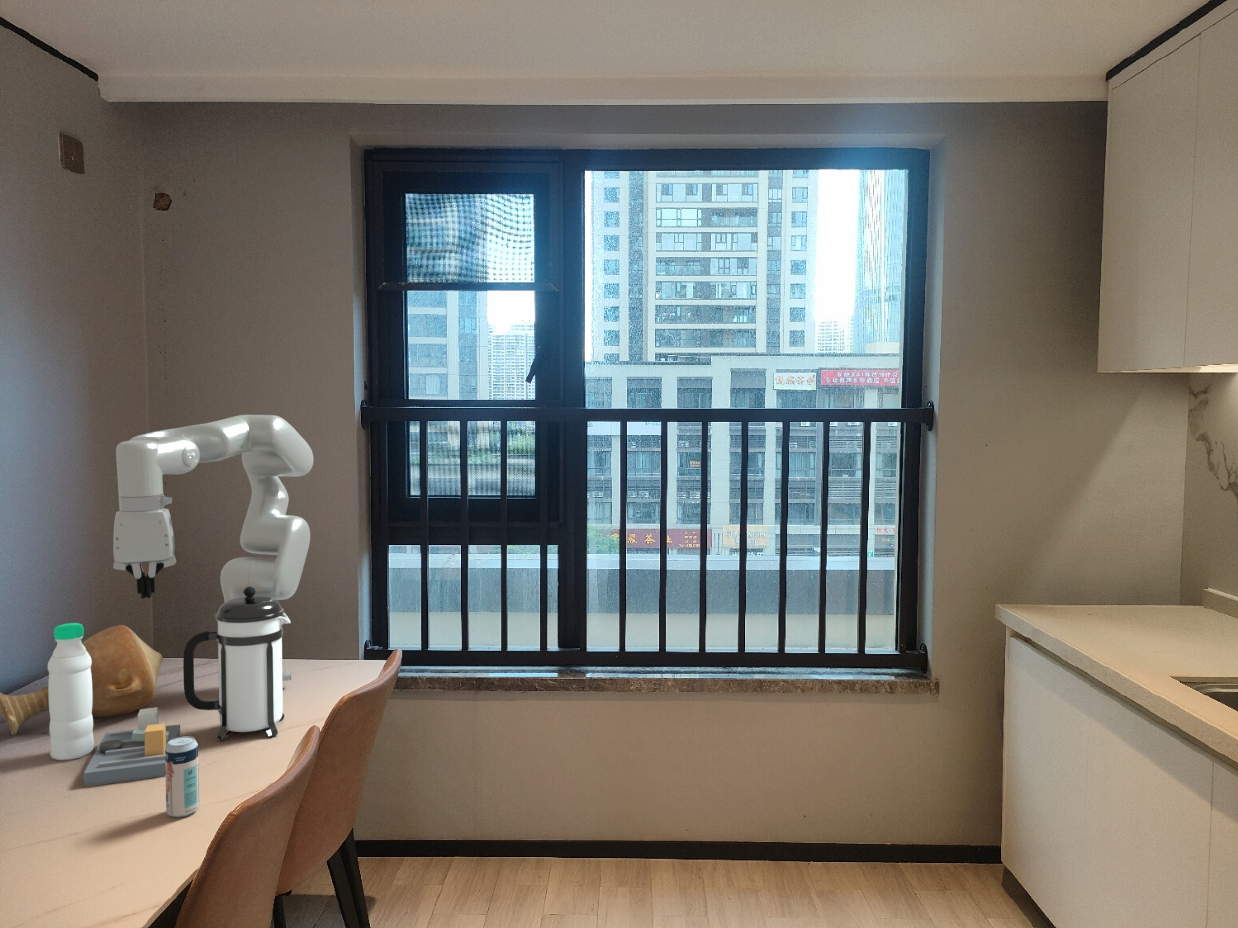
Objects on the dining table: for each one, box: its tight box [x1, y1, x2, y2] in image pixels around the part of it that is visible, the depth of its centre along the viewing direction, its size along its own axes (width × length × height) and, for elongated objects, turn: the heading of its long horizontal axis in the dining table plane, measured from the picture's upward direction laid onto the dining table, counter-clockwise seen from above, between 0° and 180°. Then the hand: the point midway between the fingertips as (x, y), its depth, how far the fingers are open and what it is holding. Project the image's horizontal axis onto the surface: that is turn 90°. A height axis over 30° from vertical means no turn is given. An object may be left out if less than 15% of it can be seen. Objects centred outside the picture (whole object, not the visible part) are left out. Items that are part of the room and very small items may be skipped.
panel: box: [83, 724, 181, 787], centre depth 159 cm, size 13×20×4 cm, turn 22°
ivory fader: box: [137, 706, 159, 730], centre depth 164 cm, size 3×4×5 cm
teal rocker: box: [131, 728, 169, 742], centre depth 160 cm, size 6×2×1 cm, turn 112°
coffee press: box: [182, 586, 291, 742], centre depth 173 cm, size 17×16×30 cm
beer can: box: [165, 735, 200, 818], centre depth 138 cm, size 5×5×12 cm
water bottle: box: [47, 622, 95, 761], centre depth 160 cm, size 7×7×25 cm
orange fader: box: [145, 722, 167, 757], centre depth 156 cm, size 3×4×5 cm
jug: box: [0, 624, 163, 737], centre depth 179 cm, size 20×19×30 cm
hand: (147, 596), depth 165 cm, fingers closed
